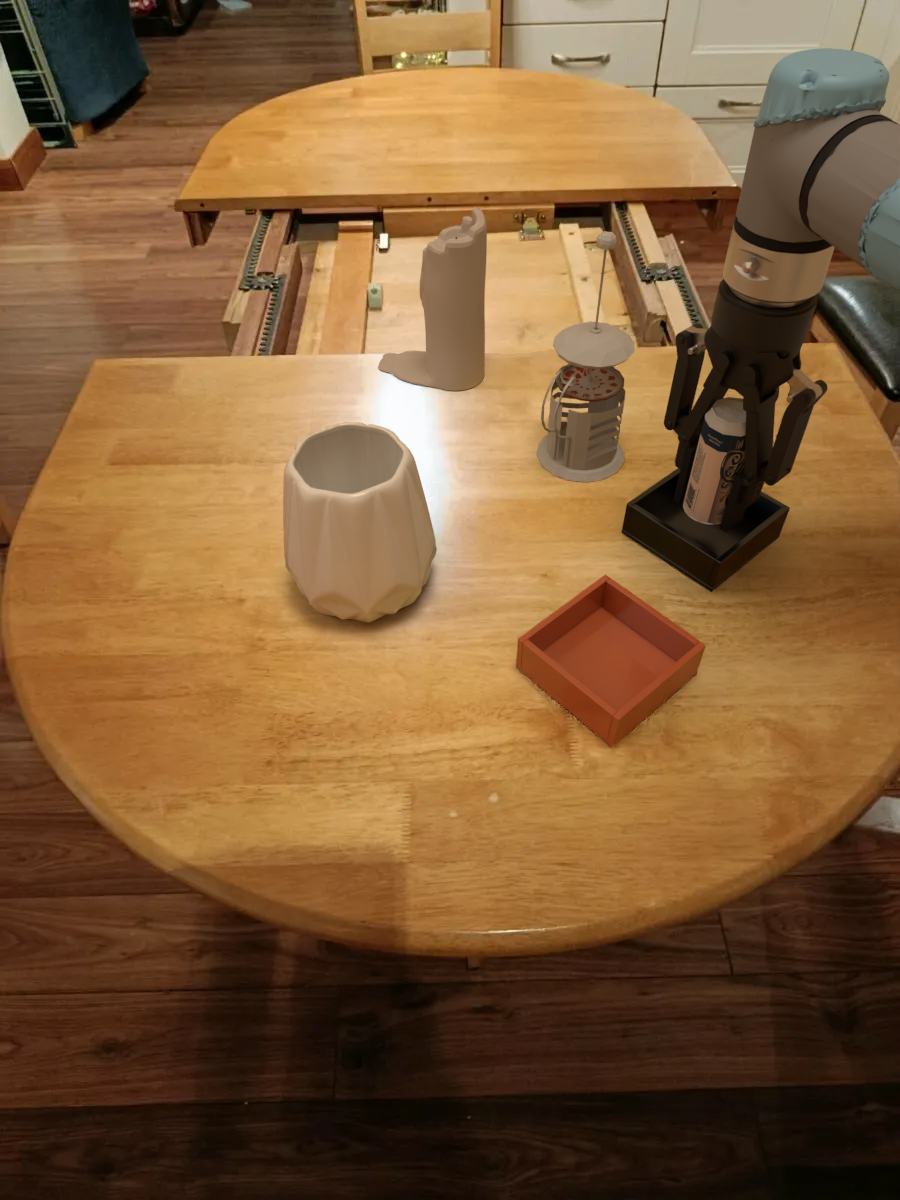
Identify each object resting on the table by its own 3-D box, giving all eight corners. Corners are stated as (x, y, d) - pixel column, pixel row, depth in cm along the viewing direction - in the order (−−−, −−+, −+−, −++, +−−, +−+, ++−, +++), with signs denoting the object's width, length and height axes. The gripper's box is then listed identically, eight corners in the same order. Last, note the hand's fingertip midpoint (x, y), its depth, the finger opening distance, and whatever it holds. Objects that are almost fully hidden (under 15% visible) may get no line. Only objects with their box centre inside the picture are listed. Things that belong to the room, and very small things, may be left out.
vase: (330, 659, 76) (306, 536, 65) (269, 563, 84) (238, 439, 73) (464, 598, 81) (463, 474, 69) (394, 513, 89) (383, 389, 77)
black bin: (779, 537, 85) (790, 507, 82) (711, 592, 81) (720, 563, 78) (689, 484, 91) (697, 454, 88) (621, 532, 86) (626, 503, 83)
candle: (389, 346, 110) (377, 188, 95) (491, 364, 107) (495, 203, 92) (368, 376, 106) (352, 215, 91) (474, 395, 103) (475, 232, 88)
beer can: (721, 535, 81) (752, 432, 72) (674, 517, 83) (699, 415, 74) (738, 506, 84) (770, 404, 75) (692, 490, 86) (718, 388, 77)
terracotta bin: (696, 673, 74) (706, 645, 71) (612, 747, 69) (618, 720, 66) (600, 603, 80) (605, 574, 77) (515, 667, 75) (517, 638, 72)
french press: (642, 451, 95) (684, 230, 76) (578, 502, 89) (607, 277, 71) (572, 416, 100) (596, 199, 81) (508, 463, 94) (517, 241, 75)
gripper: (648, 261, 69) (612, 483, 86) (847, 348, 60) (762, 577, 77) (705, 232, 72) (659, 451, 89) (902, 311, 63) (809, 538, 80)
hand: (707, 509), depth 83 cm, fingers open, 5 cm apart
